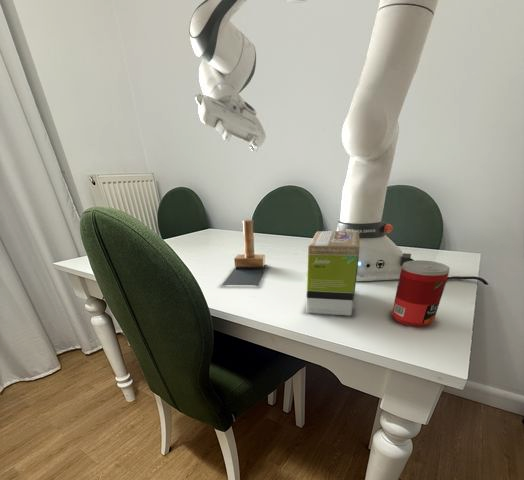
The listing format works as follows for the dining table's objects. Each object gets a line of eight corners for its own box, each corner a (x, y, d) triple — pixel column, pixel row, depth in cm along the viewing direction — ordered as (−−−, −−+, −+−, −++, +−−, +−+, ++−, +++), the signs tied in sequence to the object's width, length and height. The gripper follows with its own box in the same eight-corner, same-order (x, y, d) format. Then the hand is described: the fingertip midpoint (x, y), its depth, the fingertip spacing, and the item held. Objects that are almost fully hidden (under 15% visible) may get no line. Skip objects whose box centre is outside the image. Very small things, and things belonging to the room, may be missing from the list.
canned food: (431, 331, 55) (448, 274, 49) (387, 322, 59) (398, 268, 53) (435, 315, 61) (451, 262, 55) (394, 308, 64) (406, 258, 58)
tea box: (313, 289, 76) (316, 229, 68) (353, 292, 73) (361, 229, 66) (304, 313, 64) (307, 243, 56) (351, 317, 61) (362, 244, 53)
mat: (267, 266, 96) (267, 264, 95) (257, 287, 79) (257, 285, 79) (237, 266, 97) (237, 264, 97) (222, 286, 80) (222, 284, 80)
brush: (265, 265, 94) (263, 218, 87) (263, 269, 90) (261, 221, 83) (238, 265, 96) (234, 219, 88) (235, 269, 92) (230, 221, 84)
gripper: (197, 78, 73) (214, 117, 70) (259, 111, 86) (276, 145, 83) (188, 104, 78) (203, 141, 75) (248, 131, 91) (263, 164, 88)
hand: (242, 144), depth 79 cm, fingers open, 8 cm apart
